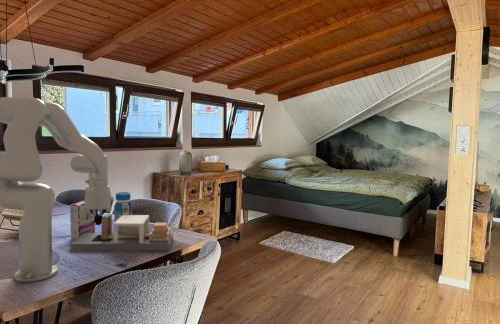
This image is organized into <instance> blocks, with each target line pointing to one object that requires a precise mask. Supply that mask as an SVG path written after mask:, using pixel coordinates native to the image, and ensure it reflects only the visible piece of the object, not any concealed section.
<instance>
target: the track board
mask: <svg viewBox="0 0 500 324" xmlns="http://www.w3.org/2000/svg"><path fill="white" fill-rule="evenodd" d="M118 226H122V233H118ZM112 234H114V238H107V239H102V232H95V233H83V234H82V235H81V236H80V237H78V238H77V239H76V240H73V241H72V242H71V243H70V244H69V245H70V249H69V251H70V252H101V251H102V252H103V251H104V252H110V251H111V252H112V251H113V252H117V251H121V252H122V251H123V252H124V251H130V252H131V251H133V252H134V251H142V252H143V251H170V249H171V246H172V243H173V240H174V232H171V235H170V237H169V240H168V241H149V238H144V234H150V215H149V214H132V215H122V216H121V217H120V218H119V219H118V220H117V221H116V222H115V223H114V222H113V232H112ZM118 234H139V238H118Z"/></svg>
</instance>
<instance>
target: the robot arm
mask: <svg viewBox="0 0 500 324" xmlns="http://www.w3.org/2000/svg"><path fill="white" fill-rule="evenodd" d="M0 123H2V124H7V125H8V126H7V127H6V129H5V131H4V134H3V145H4V151H1V152H0V206H1V207H3V208H4V209H7V210H12V211H23V215H22V217H21V218H20V220H19V224H18V247H19V248H18V251H19V257H18V258H19V270H17V271H16V272H15V273H14V274H13V276H14V277H13V278H14V280H15V281H18V282H22V283H27V282H30V283H31V282H32V283H33V282H38V281H43V280H46V279H49V278H51V277H53V276H55V275H56V274H57V273H58V267H57V266H56V265H53V227H52V226H53V225H52V223H53V221H52V220H53V219H52V218H53V209H54V204H55V199H56V195H55V191H54V189H53V188H52V187H50V185H47V184H44V183H39V182H37V183H36V182H35V181H37V180H39V179H40V178H41V177H42V176H43V166H42V165H43V164H42V160H41V158H40V157H41V156H40V153H39V150H38V147H37V140H36V136H37V135H36V133H37V131H38V129H39V127H44V128H46V130H47V131H48V132H49V134H50V135H51V137H52V138H53V139H54V140H55V142H56V144H57V145H59V146H60V147H61V148H63V149H66V150H68V151H71V152H74V153H77V154H76V155H74V156H73V157H72V158H71V159H70V162H69V163H70V164H69V165H70V168H71V169H72V171H74V172H76V173H80V174H88V178H87V179H85V181H84V182H85V184H87V186H86V188H85V193H84V194H85V195H84V201H85V211H88V212H91V213H92V214H93V216H94V223H95V226H100V225H102V218H103V217H104V214H106V213H108V212H112V192H111V188H110V187H111V186H110V185H109V178H108V177H109V176H108V175H109V174H108V173H109V172H108V169H109V160H108V159H109V158H108V155H107V154H105V153H104V151H103V149H102V148H101V147H100V146H99V145H98V144H97V143H96V142H94V141H93V140H92V139H89V138H88V137H87V136H85V135H84V134H82V133H81V132H79V130H78V128H77V127H76V125H75V124H74V122H73V120H72V119H71V117H70V116H69V114H68V113H67V111H66V110H65V109H64V107H63V106H62V105H60V104H58V103H55V102H53V103H52V102H44V101H43V100H41V99H39V98H36V97H30V96H28V97H27V96H25V97H24V96H17V97H16V96H5V97H4V96H2V97H0ZM98 210H99V211H98Z"/></svg>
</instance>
